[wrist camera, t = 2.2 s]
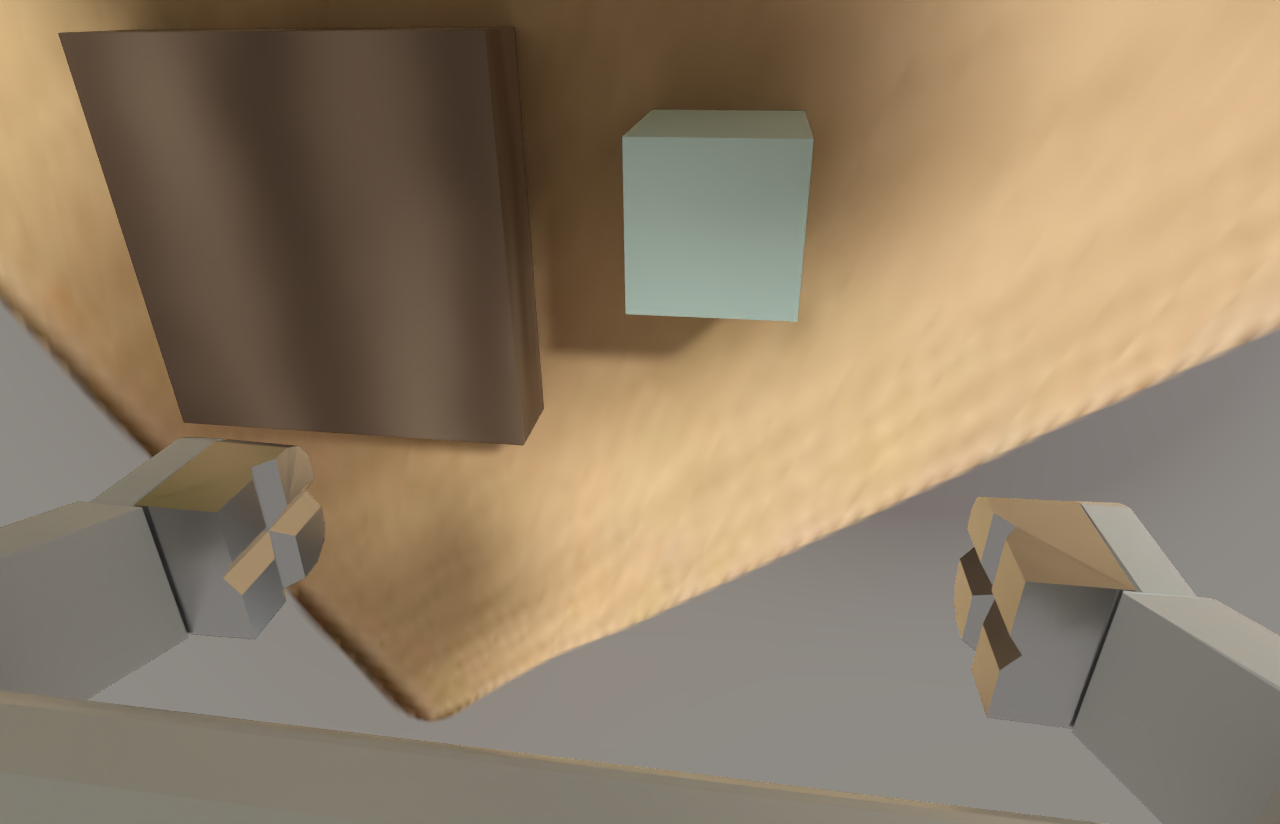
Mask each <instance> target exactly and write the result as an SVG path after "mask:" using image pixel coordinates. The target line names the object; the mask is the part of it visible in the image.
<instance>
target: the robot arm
mask: <svg viewBox="0 0 1280 824" xmlns="http://www.w3.org/2000/svg"><path fill="white" fill-rule="evenodd" d="M313 478H314V473H313V470H312V466H311V462H310V459H309V455H308V454H307V453H306V452H305V451H304V450H302V449H301V448H300V447H299V446H292V445H282V444H271V443H260V442H250V441H239V440H224V439H221V438H204V437H186V438H178V439H177V440H176V441H174V442H173V443H171V444H170V445H169V446H167V447H166V448H164V449H163V450H162V451H160V452H159V453H158V454H156V455H155V456H153V457H152V458H151V459H149V460H148V461H146V462H145V463H144V464H142V465H141V466H139V467H138V468H137V469H135V470H134V471H133V472H131V473H130V474H129V475H127V476H126V477H124V478H123V479H122V480H120V481H119V482H117V483H116V484H114V485H113V486H112V487H110V488H109V489H108V490H106V491H105V492H103V493H102V494H101V495H99V496H98V497H96V498H95V499H94V500H92V501H91V502H90V503H89V502H75V503H72V504H69V505H67V506H63V507H60V508H57V509H54V510H51V511H48V512H45V513H42V514H39V515H36V516H33V517H30V518H27V519H24V520H22V521H18V522H15V523H12V524H9V525H6V526H3V527H0V824H1107V823H1098V822H1090V821H1081V820H1073V819H1064V818H1056V817H1047V816H1038V815H1030V814H1021V813H1013V812H1005V811H997V810H987V809H980V808H971V807H964V806H955V805H946V804H939V803H931V802H922V801H915V800H906V799H898V798H890V797H882V796H874V795H866V794H865V795H864V794H857V793H848V792H841V791H832V790H824V789H816V788H808V787H800V786H792V785H783V784H775V783H767V782H759V781H751V780H742V779H735V778H726V777H717V776H710V775H701V774H694V773H685V772H677V771H669V770H660V769H652V768H644V767H636V766H628V765H619V764H611V763H603V762H594V761H586V760H578V759H570V758H561V757H553V756H544V755H536V754H528V753H519V752H510V751H503V750H494V749H486V748H477V747H469V746H460V745H452V744H444V743H436V742H427V741H419V740H410V739H402V738H394V737H385V736H377V735H368V734H360V733H352V732H343V731H335V730H327V729H318V728H309V727H302V726H293V725H284V724H277V723H269V722H260V721H252V720H244V719H236V718H227V717H219V716H210V715H202V714H194V713H186V712H178V711H169V710H161V709H153V708H145V707H136V706H128V705H120V704H112V703H104V702H96V701H87V700H88V699H89V698H91V697H93V696H94V695H96V694H97V693H99V692H101V691H102V690H104V689H106V688H107V687H109V686H110V685H112V684H114V683H115V682H117V681H119V680H120V679H122V678H123V677H125V676H127V675H128V674H130V673H132V672H133V671H135V670H136V669H138V668H140V667H141V666H143V665H144V664H146V663H148V662H149V661H151V660H153V659H154V658H156V657H157V656H159V655H161V654H162V653H164V652H166V651H167V650H169V649H170V648H172V647H174V646H175V645H177V644H179V643H180V642H182V641H183V640H185V639H187V638H188V634H194V635H206V636H219V637H232V638H245V639H256V638H257V636H258V635H259V634H260V633H261V632H262V630H263V629H264V628H265V627H266V625H267V624H268V623H269V622H270V620H271V619H272V618H273V617H274V616H275V614H276V613H277V612H278V611H279V609H280V608H281V607H282V606H283V604H284V603H285V602H286V598H285V591H284V588H286V587H288V586H290V585H292V584H294V583H296V582H297V581H299V580H301V579H303V578H305V577H306V576H307V575H308V573H309V572H310V571H311V569H312V568H313V567H314V565H315V564H316V563H317V561H318V558H319V555H320V552H321V549H322V546H323V543H324V533H325V522H324V517H323V512H322V508H321V505H320V504H319V503H318V502H317V501H316V500H315V499H314V498H313V497H312V496H311V495H310V494H309V493H308V491H307V489H308V487H309V485H310V483H311V482H312V480H313ZM967 528H968V531H969V533H970V536H971V538H972V541H973V544H974V548H973V549H971V550H970V551H969V552H968V553H966V555H964V556H963V557H962V558H961V559H960V560H959V565H958V571H957V576H956V581H955V603H954V607H955V614H956V620H957V625H958V629H959V632H960V635H961V639H962V641H964V642H965V643H966V644H967V645H968V646H970V647H971V648H972V649H973V650H975V651H976V653H975V657H974V661H973V664H972V668H971V671H972V674H973V677H974V680H975V683H976V686H977V689H978V692H979V695H980V698H981V702H982V704H983V707H984V711H985V714H986V717H987V718H995V719H1002V720H1010V721H1017V722H1025V723H1032V724H1040V725H1047V726H1055V727H1063V728H1070V729H1073V730H1072V733H1073V734H1074V735H1075V736H1076V737H1077V738H1078V739H1079V740H1080V741H1081V742H1082V743H1083V744H1084V745H1085V746H1086V747H1087V748H1088V749H1089V750H1090V751H1091V752H1092V753H1093V754H1094V755H1095V756H1096V757H1097V758H1098V759H1099V760H1100V761H1101V762H1102V763H1103V764H1104V765H1105V766H1106V767H1107V768H1108V769H1109V770H1110V771H1111V772H1112V773H1113V774H1114V775H1115V776H1116V777H1117V778H1118V779H1119V780H1120V781H1121V782H1122V783H1123V784H1124V785H1125V786H1126V787H1127V788H1128V789H1129V790H1130V791H1131V792H1132V793H1133V794H1134V795H1135V796H1136V797H1137V798H1138V799H1139V800H1140V801H1141V802H1142V803H1143V804H1144V805H1145V806H1146V807H1147V808H1148V809H1149V810H1150V811H1151V812H1152V813H1153V814H1154V815H1155V816H1156V817H1157V818H1158V819H1159V820H1160V821H1161V822H1162V823H1163V824H1280V636H1279V635H1277V634H1275V633H1273V632H1272V631H1270V630H1268V629H1266V628H1264V627H1263V626H1261V625H1259V624H1257V623H1255V622H1253V621H1252V620H1250V619H1248V618H1247V617H1245V616H1243V615H1241V614H1240V613H1238V612H1236V611H1234V610H1232V609H1231V608H1229V607H1227V606H1225V605H1224V604H1222V603H1220V602H1218V601H1216V600H1215V599H1209V598H1199V597H1196V596H1195V594H1194V593H1193V591H1192V590H1191V589H1190V587H1189V586H1188V585H1187V583H1186V582H1185V581H1184V579H1183V578H1182V577H1181V575H1180V574H1179V573H1178V572H1177V570H1176V569H1175V567H1174V566H1173V565H1172V563H1171V562H1170V561H1169V559H1168V558H1167V557H1166V555H1165V554H1164V553H1163V551H1162V550H1161V549H1160V548H1159V546H1158V545H1157V543H1156V542H1155V541H1154V539H1153V538H1152V537H1151V535H1150V534H1149V533H1148V531H1147V530H1146V529H1145V527H1144V526H1143V525H1142V523H1141V522H1140V521H1139V519H1138V518H1137V516H1136V515H1135V514H1134V513H1133V512H1132V510H1131V509H1130V508H1129V507H1127V506H1125V505H1123V504H1121V503H1103V502H1078V501H1053V500H1033V499H1013V498H993V497H977V500H976V501H975V503H974V506H973V508H972V510H971V514H970V519H969V522H968V526H967Z"/></svg>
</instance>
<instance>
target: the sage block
mask: <svg viewBox="0 0 1280 824" xmlns="http://www.w3.org/2000/svg"><path fill="white" fill-rule="evenodd" d="M813 143H814V138H813V135H812V132H811V128H810V125H809V122H808V119H807V116H806V113H805V111H783V110H651V111H650V112H649V113H648V114H647V115H646V116H644V117H643V118H642V119H641V120H640V121H639V122H638V123H637V124H636V125H635V126H633V127H632V128H631V129H630V130H629V131H628V132H627V133H626V134H625V135H624V136H622V156H623V206H624V256H625V306H626V314H632V315H655V316H678V317H701V318H725V319H748V320H771V321H794V322H797V321H798V310H799V299H800V288H801V276H802V265H803V254H804V243H805V232H806V221H807V210H808V198H809V187H810V176H811V165H812V154H813Z"/></svg>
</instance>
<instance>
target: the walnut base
mask: <svg viewBox="0 0 1280 824" xmlns="http://www.w3.org/2000/svg"><path fill="white" fill-rule="evenodd" d="M58 34H59V37H60V40H61V43H62V46H63V50H64V53H65V56H66V59H67V62H68V65H69V68H70V71H71V74H72V77H73V80H74V84H75V87H76V90H77V93H78V96H79V99H80V102H81V105H82V108H83V111H84V115H85V118H86V121H87V124H88V127H89V130H90V133H91V136H92V139H93V142H94V146H95V149H96V152H97V155H98V158H99V161H100V164H101V167H102V170H103V173H104V177H105V180H106V183H107V186H108V189H109V192H110V195H111V198H112V201H113V204H114V207H115V211H116V214H117V217H118V220H119V223H120V226H121V229H122V232H123V235H124V238H125V242H126V245H127V248H128V251H129V254H130V257H131V260H132V263H133V266H134V269H135V273H136V276H137V279H138V282H139V285H140V288H141V291H142V294H143V297H144V300H145V303H146V307H147V310H148V313H149V316H150V319H151V322H152V325H153V328H154V331H155V334H156V338H157V341H158V344H159V347H160V350H161V353H162V356H163V359H164V362H165V365H166V369H167V372H168V375H169V378H170V381H171V384H172V387H173V390H174V393H175V396H176V400H177V403H178V406H179V409H180V412H181V415H182V418H183V421H184V423H197V424H212V425H227V426H242V427H257V428H272V429H287V430H302V431H317V432H331V433H346V434H361V435H376V436H391V437H406V438H421V439H436V440H451V441H466V442H481V443H495V444H510V445H524V443H525V442H526V440H527V438H528V436H529V434H530V433H531V431H532V429H533V427H534V425H535V424H536V422H537V420H538V418H539V416H540V415H541V413H542V411H543V409H544V405H543V392H542V379H541V366H540V353H539V340H538V327H537V314H536V301H535V288H534V275H533V262H532V249H531V236H530V223H529V210H528V197H527V184H526V171H525V158H524V145H523V132H522V119H521V106H520V93H519V80H518V67H517V54H516V41H515V27H439V28H314V29H189V30H115V31H92V32H68V33H58Z"/></svg>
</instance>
